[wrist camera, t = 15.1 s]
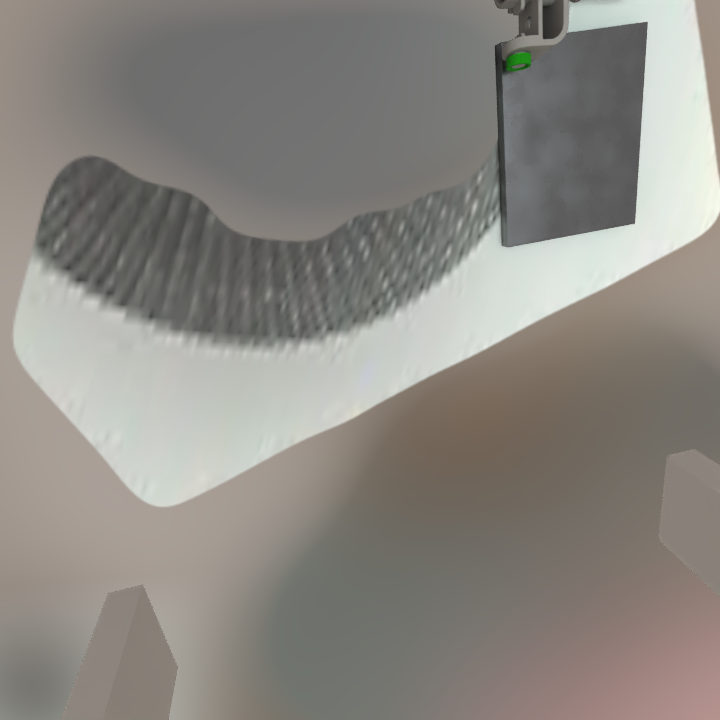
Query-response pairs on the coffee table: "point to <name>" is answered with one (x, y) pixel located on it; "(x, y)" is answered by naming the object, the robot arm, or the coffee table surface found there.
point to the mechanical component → (534, 29)
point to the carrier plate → (571, 135)
